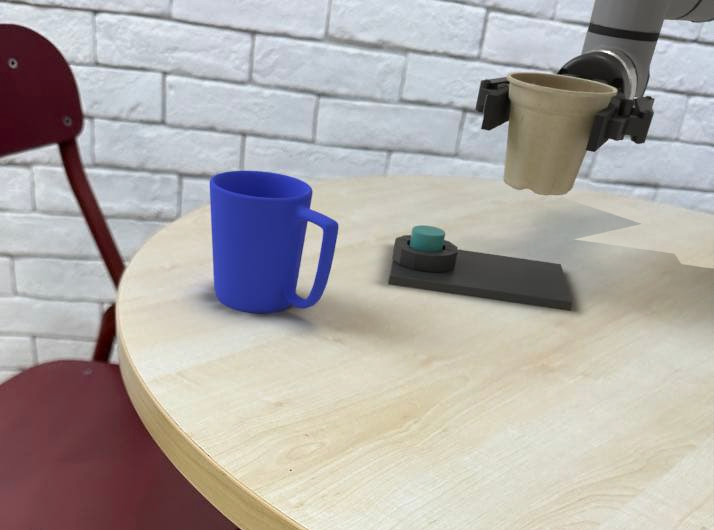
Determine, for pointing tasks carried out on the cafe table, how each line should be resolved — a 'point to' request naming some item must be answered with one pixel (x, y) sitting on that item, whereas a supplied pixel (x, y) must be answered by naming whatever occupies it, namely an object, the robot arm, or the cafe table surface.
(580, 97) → the flower pot
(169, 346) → the cafe table surface
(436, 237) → the button
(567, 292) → the dark grey piece
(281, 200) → the mug
